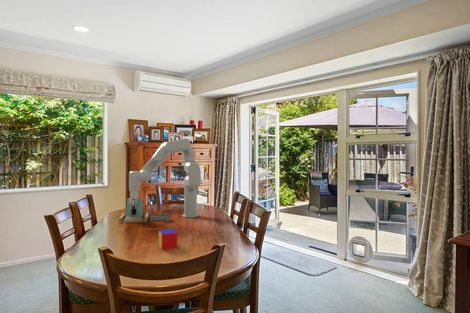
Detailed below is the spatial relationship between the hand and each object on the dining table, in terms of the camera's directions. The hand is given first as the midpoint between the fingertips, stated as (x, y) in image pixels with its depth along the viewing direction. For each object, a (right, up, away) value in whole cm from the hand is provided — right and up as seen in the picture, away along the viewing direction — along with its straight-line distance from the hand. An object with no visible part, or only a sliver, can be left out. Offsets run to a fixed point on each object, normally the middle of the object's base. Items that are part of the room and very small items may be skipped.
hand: (134, 213), depth 223 cm
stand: (+18, -6, +1) cm, 19 cm away
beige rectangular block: (+1, -5, -5) cm, 6 cm away
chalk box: (-6, -6, +19) cm, 21 cm away
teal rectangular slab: (0, -4, 0) cm, 4 cm away
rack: (0, -6, 0) cm, 6 cm away
